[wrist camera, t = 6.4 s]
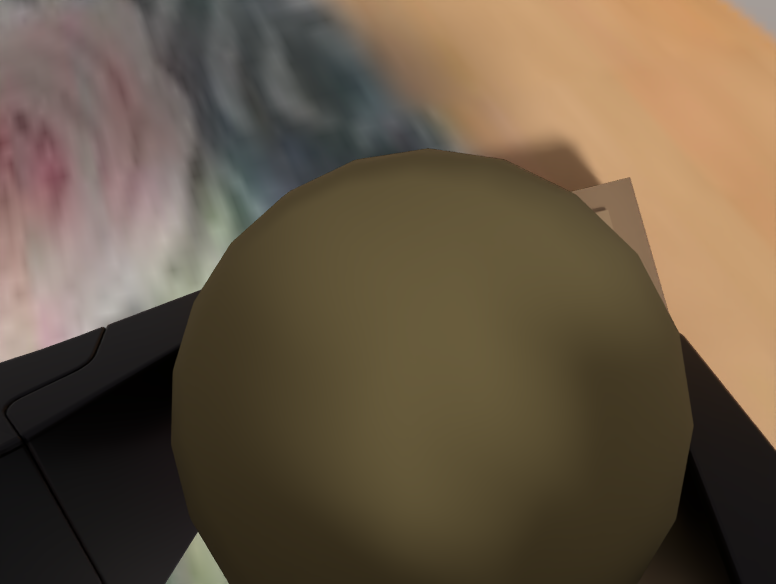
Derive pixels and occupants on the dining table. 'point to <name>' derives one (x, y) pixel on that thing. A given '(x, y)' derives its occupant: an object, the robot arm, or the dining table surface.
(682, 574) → the robot arm
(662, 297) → the walnut plinth
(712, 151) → the dining table surface
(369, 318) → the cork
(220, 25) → the dining table surface
